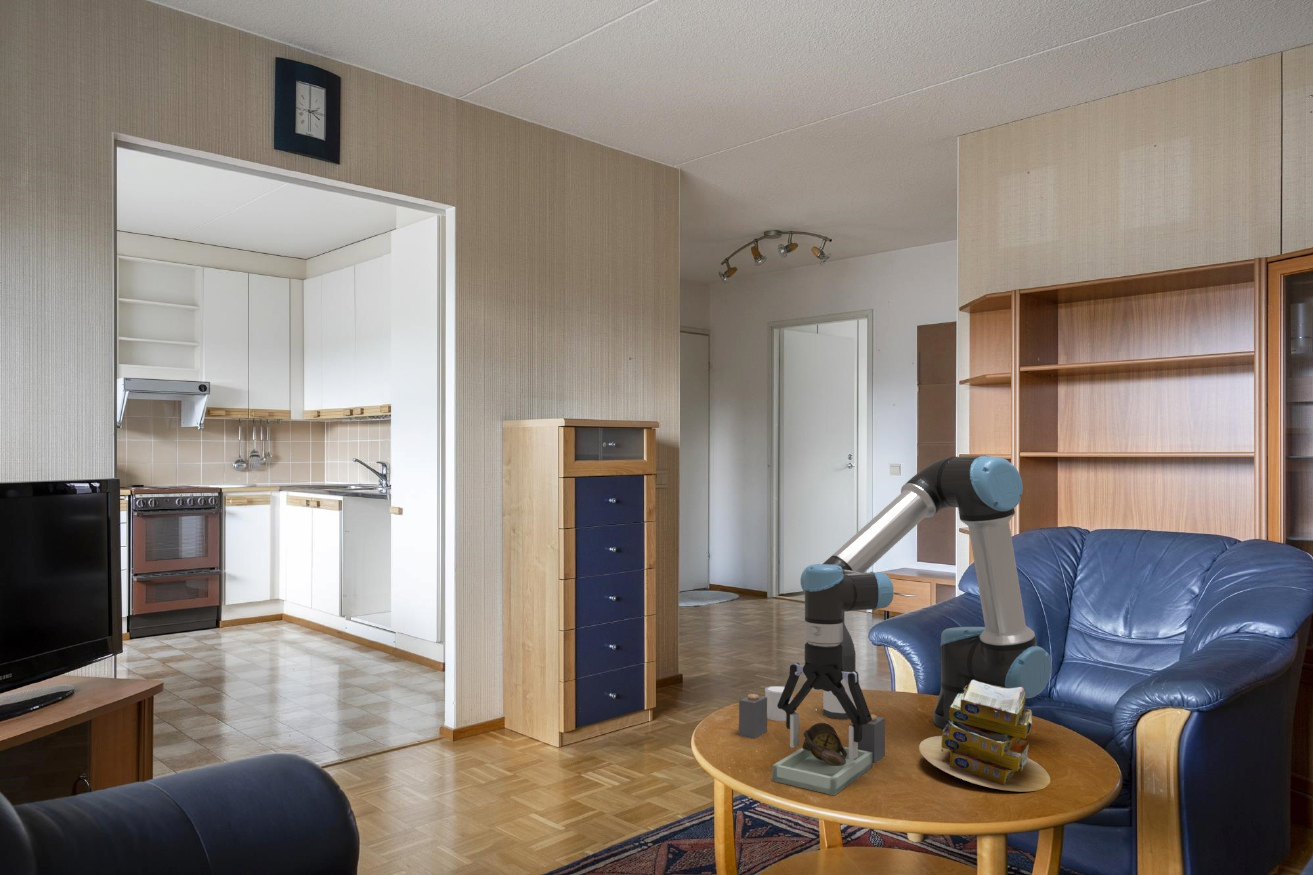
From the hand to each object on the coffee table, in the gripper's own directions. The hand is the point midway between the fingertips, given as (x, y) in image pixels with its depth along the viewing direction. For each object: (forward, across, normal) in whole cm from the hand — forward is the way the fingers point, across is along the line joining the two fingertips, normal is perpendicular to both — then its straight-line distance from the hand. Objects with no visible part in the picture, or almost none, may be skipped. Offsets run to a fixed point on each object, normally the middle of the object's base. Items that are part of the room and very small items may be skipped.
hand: (823, 751), depth 175 cm
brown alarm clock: (+2, 0, 0) cm, 2 cm away
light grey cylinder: (+5, -25, +30) cm, 39 cm away
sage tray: (+4, 0, 0) cm, 4 cm away
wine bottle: (+5, -14, +41) cm, 44 cm away
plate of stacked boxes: (+5, +26, +21) cm, 33 cm away
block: (+4, +4, +15) cm, 16 cm away
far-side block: (+4, -24, +15) cm, 29 cm away
